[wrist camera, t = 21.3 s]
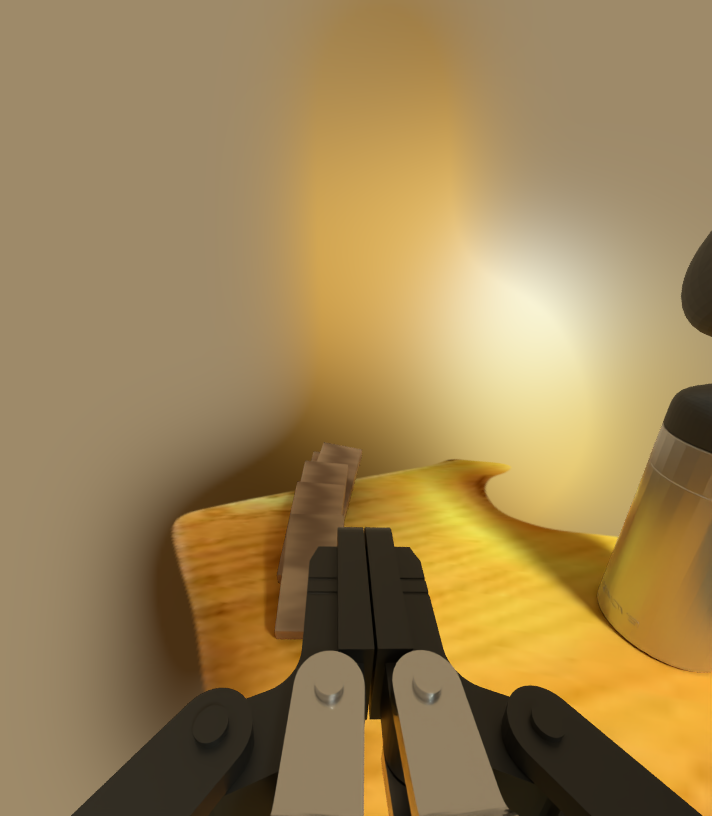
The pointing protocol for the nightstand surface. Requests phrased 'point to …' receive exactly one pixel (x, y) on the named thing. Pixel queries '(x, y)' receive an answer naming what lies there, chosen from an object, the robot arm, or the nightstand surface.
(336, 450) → the wooden domino
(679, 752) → the nightstand surface
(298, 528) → the loose tile
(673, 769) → the nightstand surface
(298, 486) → the tile
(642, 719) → the nightstand surface
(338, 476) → the tile
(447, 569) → the nightstand surface
